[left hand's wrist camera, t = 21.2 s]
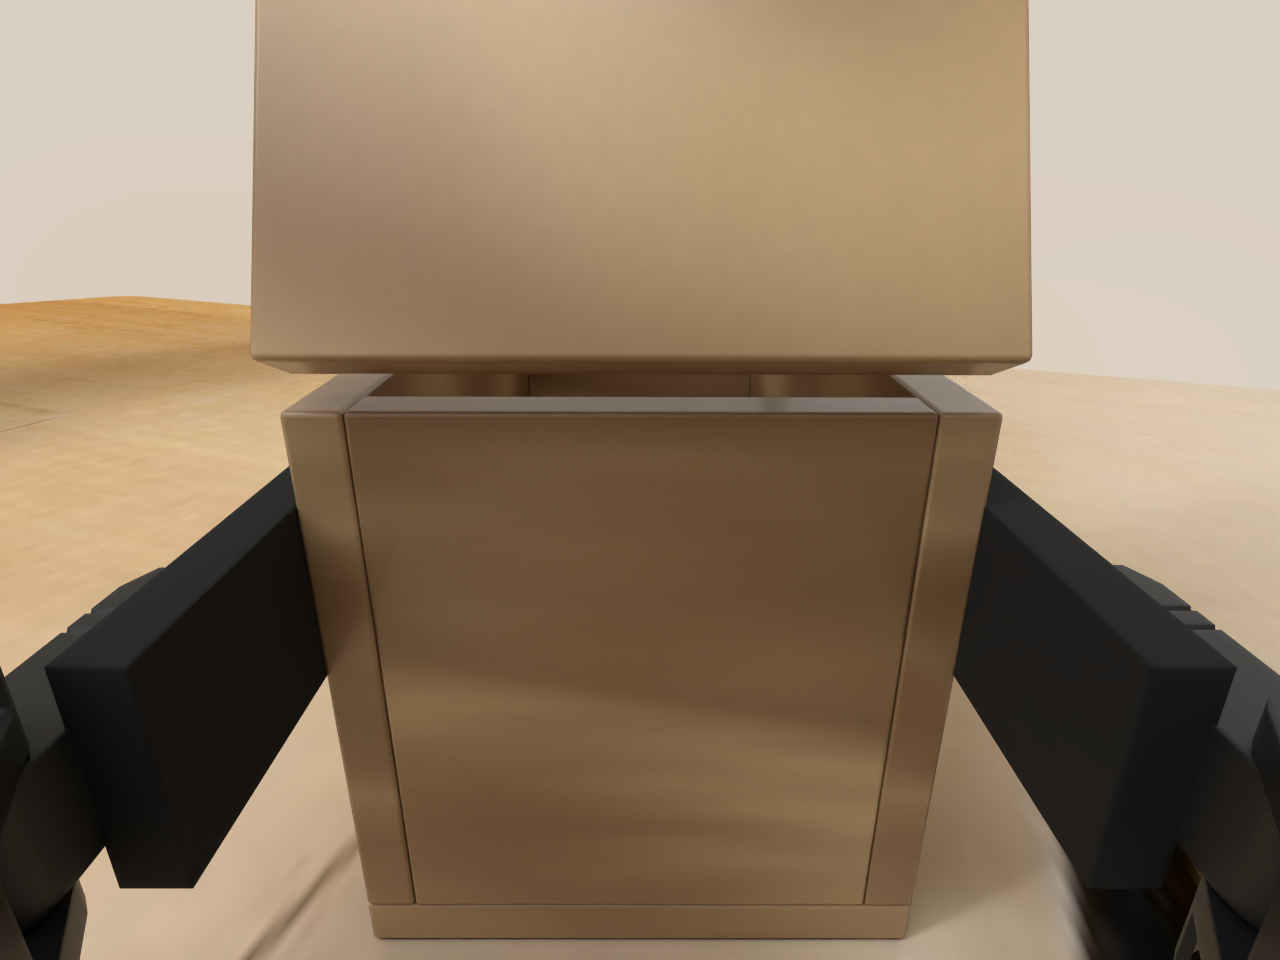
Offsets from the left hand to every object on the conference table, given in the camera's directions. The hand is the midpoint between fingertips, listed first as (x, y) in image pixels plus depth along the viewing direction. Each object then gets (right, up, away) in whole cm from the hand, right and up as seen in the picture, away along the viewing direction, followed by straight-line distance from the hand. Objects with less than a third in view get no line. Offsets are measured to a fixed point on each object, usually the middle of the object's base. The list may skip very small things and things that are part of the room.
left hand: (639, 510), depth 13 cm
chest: (0, -4, +8) cm, 9 cm away
